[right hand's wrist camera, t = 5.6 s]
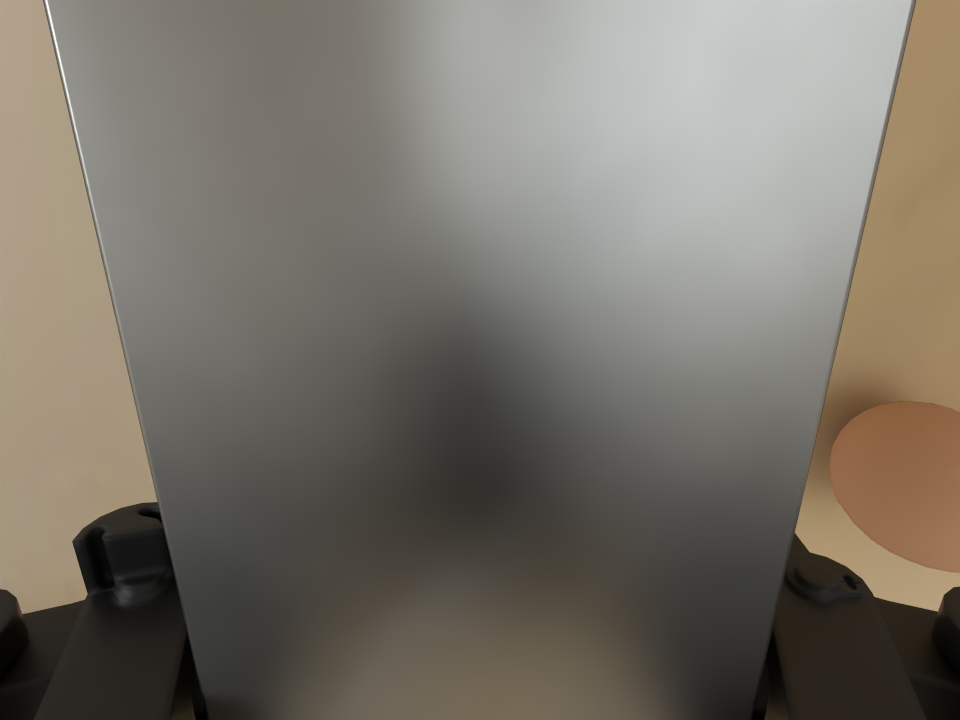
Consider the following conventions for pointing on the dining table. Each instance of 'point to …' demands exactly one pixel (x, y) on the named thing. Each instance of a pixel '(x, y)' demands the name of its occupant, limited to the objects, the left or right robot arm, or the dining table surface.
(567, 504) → the bar
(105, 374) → the dining table surface
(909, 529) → the egg
